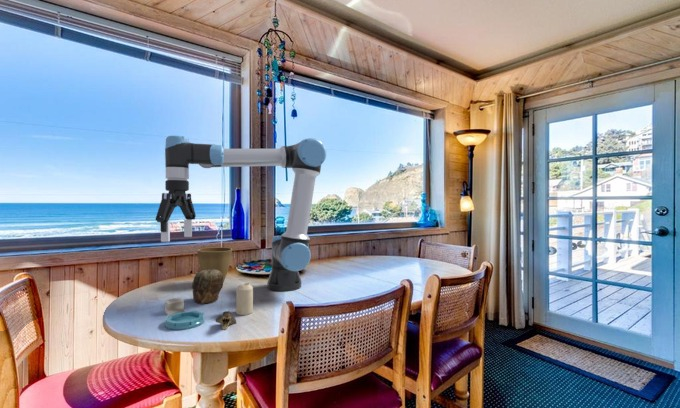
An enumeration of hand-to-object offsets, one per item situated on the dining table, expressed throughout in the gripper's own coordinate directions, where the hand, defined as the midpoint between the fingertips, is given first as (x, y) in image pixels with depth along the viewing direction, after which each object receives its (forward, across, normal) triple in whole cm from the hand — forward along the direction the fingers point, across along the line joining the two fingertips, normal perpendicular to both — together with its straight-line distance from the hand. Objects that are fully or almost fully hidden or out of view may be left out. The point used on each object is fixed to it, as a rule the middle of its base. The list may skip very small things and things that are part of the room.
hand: (177, 239), depth 118 cm
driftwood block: (+25, +5, +2) cm, 25 cm away
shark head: (+25, +16, +25) cm, 39 cm away
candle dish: (+24, +14, +12) cm, 30 cm away
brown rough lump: (+25, -8, +7) cm, 27 cm away
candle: (+25, +2, +26) cm, 36 cm away
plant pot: (+25, -31, -2) cm, 40 cm away
